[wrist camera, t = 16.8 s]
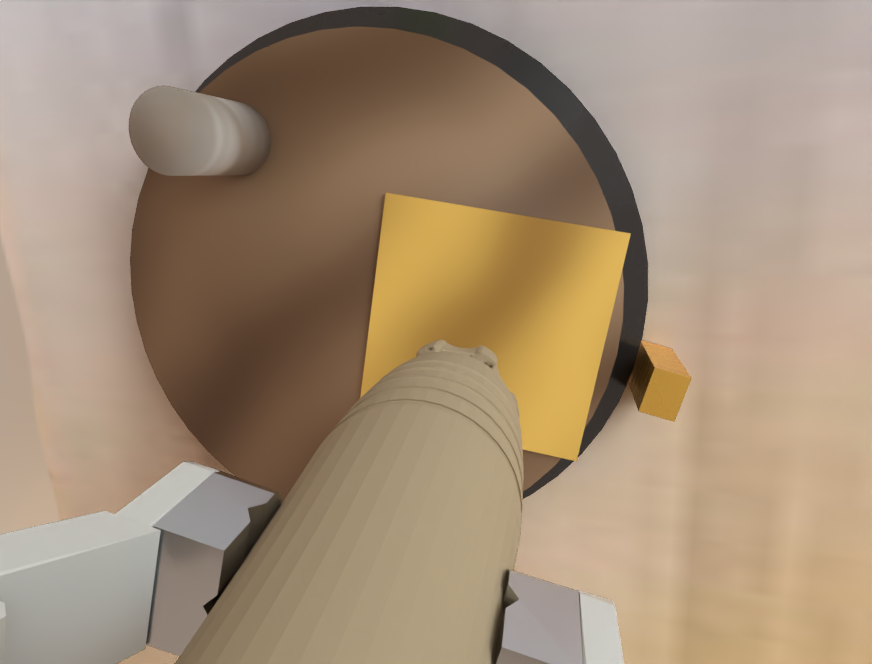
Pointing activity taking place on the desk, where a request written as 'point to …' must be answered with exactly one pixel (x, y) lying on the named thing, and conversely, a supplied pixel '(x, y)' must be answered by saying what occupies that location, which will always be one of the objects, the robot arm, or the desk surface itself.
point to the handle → (388, 530)
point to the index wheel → (366, 244)
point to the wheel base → (636, 360)
